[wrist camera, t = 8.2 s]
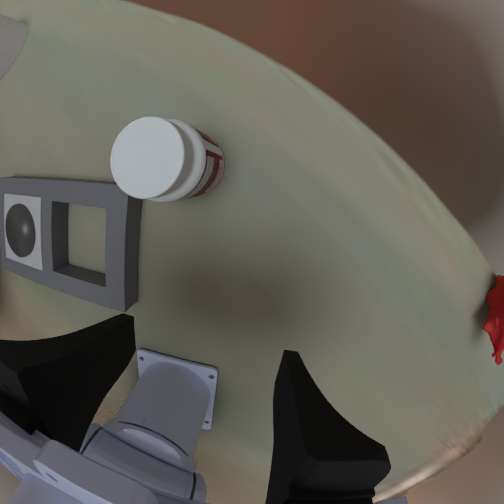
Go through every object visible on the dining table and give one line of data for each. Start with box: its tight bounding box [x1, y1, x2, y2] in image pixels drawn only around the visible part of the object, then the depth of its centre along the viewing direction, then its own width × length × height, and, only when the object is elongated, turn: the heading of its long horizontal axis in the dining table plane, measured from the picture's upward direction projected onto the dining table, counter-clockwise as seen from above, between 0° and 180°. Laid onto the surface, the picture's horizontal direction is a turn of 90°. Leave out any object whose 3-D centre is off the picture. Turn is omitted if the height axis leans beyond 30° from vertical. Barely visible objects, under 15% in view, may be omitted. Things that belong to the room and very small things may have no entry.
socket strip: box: [0, 176, 142, 312], centre depth 21 cm, size 10×18×3 cm, turn 81°
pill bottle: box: [110, 116, 224, 203], centre depth 16 cm, size 5×5×8 cm
